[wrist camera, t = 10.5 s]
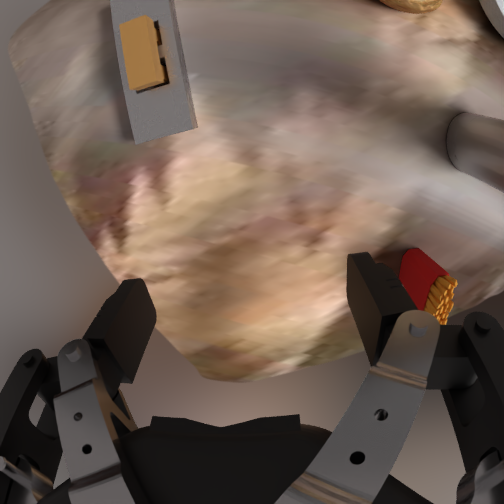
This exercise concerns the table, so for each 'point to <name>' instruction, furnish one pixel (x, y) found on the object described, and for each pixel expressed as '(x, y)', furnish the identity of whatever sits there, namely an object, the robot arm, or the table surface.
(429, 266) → the french fries
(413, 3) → the pastry
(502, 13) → the cereal bowl
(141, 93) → the rail
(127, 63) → the ochre wooden block
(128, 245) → the table surface
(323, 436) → the robot arm
